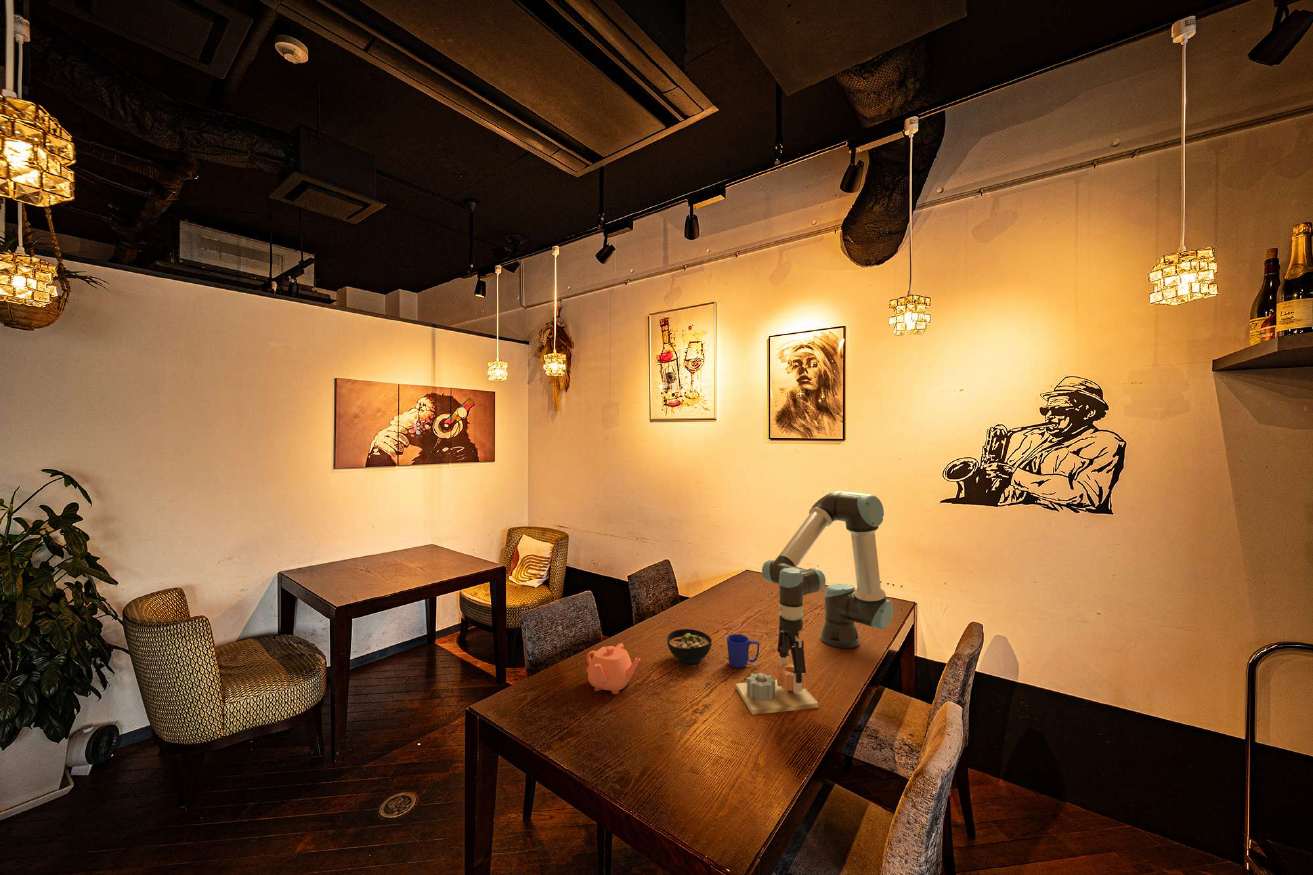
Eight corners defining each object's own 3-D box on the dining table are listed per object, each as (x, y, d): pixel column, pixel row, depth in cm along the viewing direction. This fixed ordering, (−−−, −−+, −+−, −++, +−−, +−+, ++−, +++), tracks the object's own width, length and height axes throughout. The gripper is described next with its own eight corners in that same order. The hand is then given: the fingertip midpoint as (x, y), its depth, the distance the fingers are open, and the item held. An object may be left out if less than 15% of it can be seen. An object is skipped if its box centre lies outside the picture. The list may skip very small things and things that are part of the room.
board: (795, 681, 171) (795, 662, 170) (818, 707, 155) (818, 685, 155) (735, 687, 167) (735, 667, 167) (752, 714, 151) (752, 692, 151)
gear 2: (797, 676, 167) (797, 662, 167) (809, 690, 158) (809, 675, 158) (772, 678, 165) (772, 664, 165) (783, 692, 156) (783, 677, 156)
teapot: (642, 690, 166) (641, 651, 166) (596, 704, 157) (595, 663, 157) (621, 670, 180) (621, 634, 180) (578, 682, 171) (578, 644, 171)
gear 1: (761, 684, 166) (761, 669, 166) (781, 696, 159) (781, 681, 159) (741, 692, 161) (741, 677, 161) (760, 705, 154) (760, 689, 154)
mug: (759, 672, 178) (759, 644, 178) (726, 669, 180) (726, 642, 180) (759, 661, 186) (759, 635, 186) (727, 658, 188) (727, 633, 188)
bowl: (681, 676, 175) (681, 648, 175) (659, 656, 190) (659, 631, 190) (720, 665, 183) (720, 638, 183) (696, 647, 198) (696, 623, 198)
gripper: (767, 605, 171) (767, 668, 172) (794, 630, 150) (794, 702, 150) (787, 604, 173) (787, 667, 173) (817, 628, 151) (817, 700, 152)
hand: (790, 683), depth 162 cm, fingers closed on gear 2, 9 cm apart
